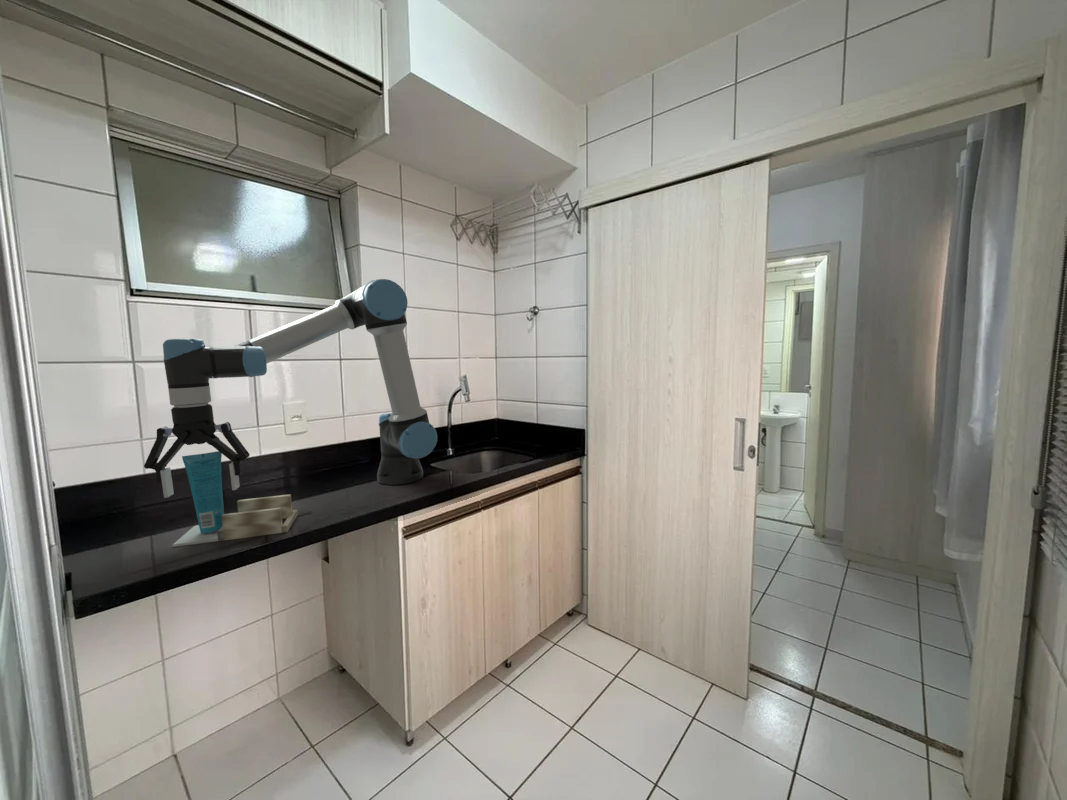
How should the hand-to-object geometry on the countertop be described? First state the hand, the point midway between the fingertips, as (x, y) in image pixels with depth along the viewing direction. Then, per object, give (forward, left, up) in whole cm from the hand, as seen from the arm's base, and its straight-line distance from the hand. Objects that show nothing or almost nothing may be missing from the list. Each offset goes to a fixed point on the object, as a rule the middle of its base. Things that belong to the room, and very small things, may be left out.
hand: (203, 492), depth 101 cm
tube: (-1, 0, -10) cm, 10 cm away
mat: (0, 0, -11) cm, 11 cm away
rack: (-11, 0, -11) cm, 15 cm away
